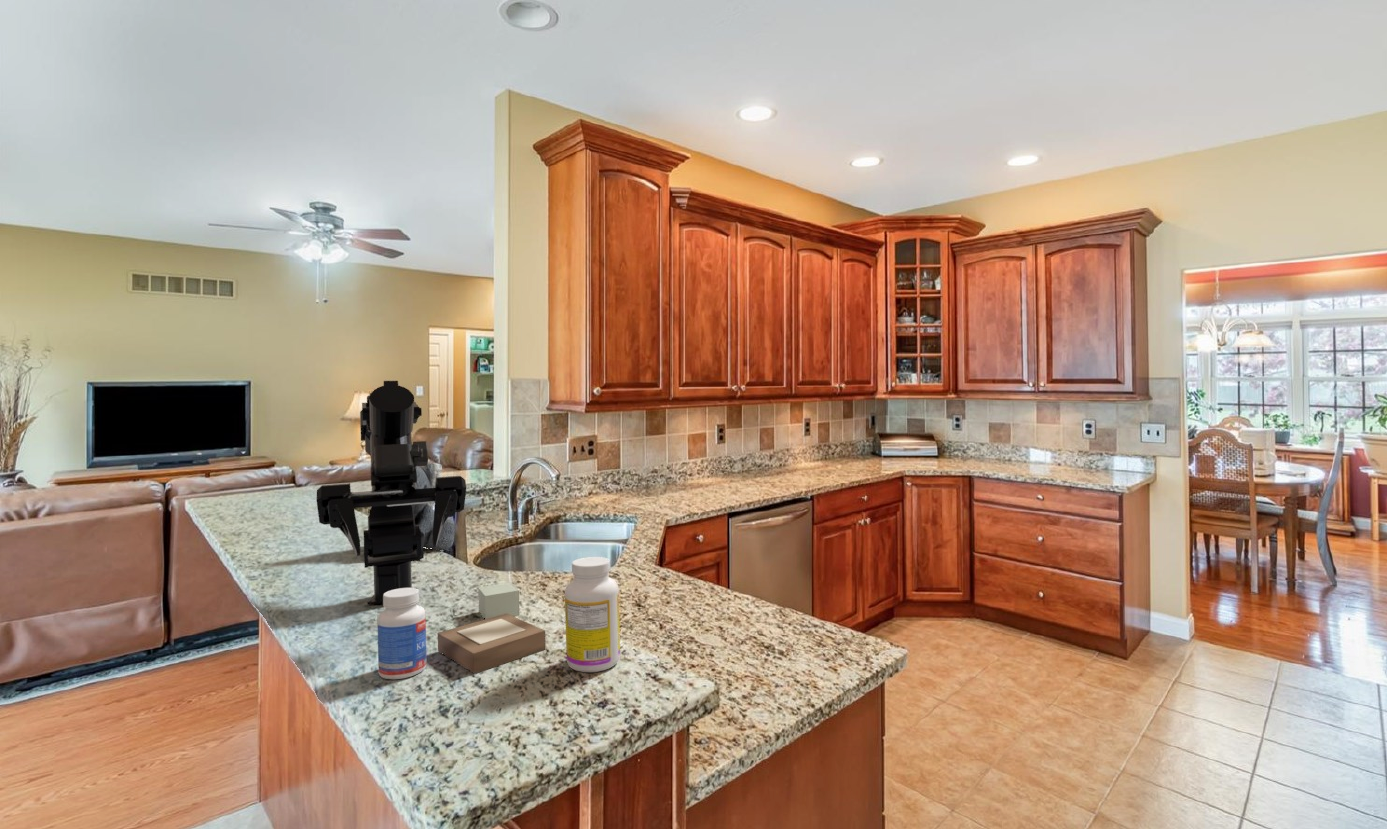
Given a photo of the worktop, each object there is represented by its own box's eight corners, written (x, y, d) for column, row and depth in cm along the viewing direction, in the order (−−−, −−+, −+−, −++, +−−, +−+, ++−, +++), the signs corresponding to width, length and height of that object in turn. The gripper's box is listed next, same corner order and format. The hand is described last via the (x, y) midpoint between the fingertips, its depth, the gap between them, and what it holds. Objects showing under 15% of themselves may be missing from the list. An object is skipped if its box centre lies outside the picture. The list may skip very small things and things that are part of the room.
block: (478, 613, 99) (478, 587, 99) (511, 607, 102) (510, 582, 102) (486, 622, 95) (485, 596, 95) (519, 616, 97) (518, 590, 97)
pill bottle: (426, 676, 76) (424, 595, 76) (376, 684, 74) (374, 601, 74) (427, 659, 82) (425, 583, 81) (380, 666, 80) (378, 588, 79)
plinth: (438, 651, 84) (437, 631, 84) (506, 630, 91) (506, 612, 91) (474, 674, 77) (473, 652, 77) (545, 649, 84) (545, 629, 84)
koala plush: (372, 562, 131) (369, 468, 130) (359, 546, 146) (356, 461, 145) (458, 549, 141) (456, 461, 141) (438, 535, 156) (435, 456, 155)
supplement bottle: (590, 648, 84) (588, 552, 84) (630, 658, 81) (628, 558, 80) (554, 667, 78) (552, 564, 78) (596, 679, 75) (594, 571, 75)
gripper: (314, 425, 85) (311, 521, 75) (462, 420, 93) (476, 506, 84) (321, 477, 92) (318, 571, 82) (457, 469, 100) (469, 553, 91)
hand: (397, 549), depth 85 cm, fingers open, 9 cm apart
